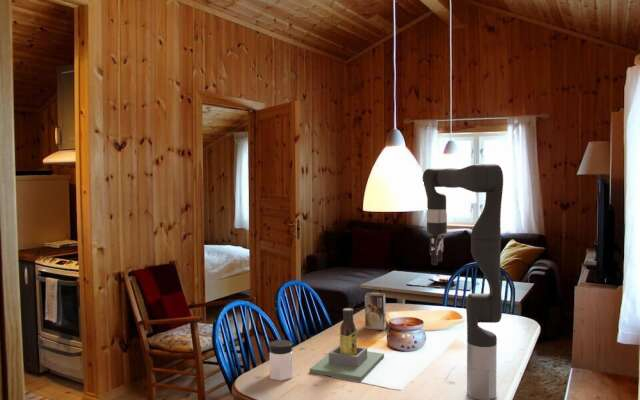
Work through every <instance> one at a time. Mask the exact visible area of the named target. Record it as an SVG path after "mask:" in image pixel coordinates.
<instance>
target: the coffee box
mask: <svg viewBox="0 0 640 400" xmlns="http://www.w3.org/2000/svg"><path fill="white" fill-rule="evenodd" d="M386 311H387V309H386V292H368V291H367V292H366V293H365V295H364V320H365V326H364V327H365V329H367V330H381V331H385V329H386V328H387V318H386V317H387V316H386V315H387V312H386Z"/></svg>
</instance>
